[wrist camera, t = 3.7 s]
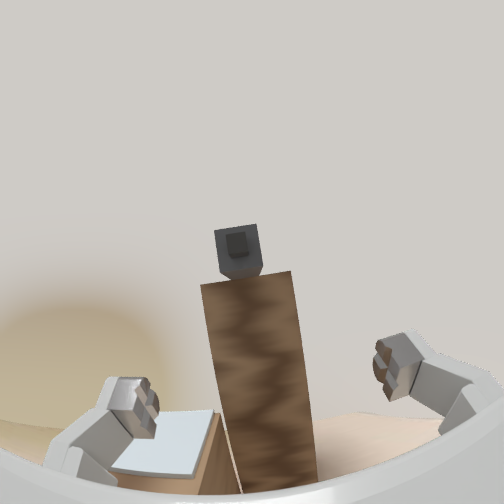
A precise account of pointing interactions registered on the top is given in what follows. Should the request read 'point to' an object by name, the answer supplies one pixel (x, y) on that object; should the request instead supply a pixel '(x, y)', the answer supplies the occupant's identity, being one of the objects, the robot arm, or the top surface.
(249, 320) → the walnut stand
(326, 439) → the top surface
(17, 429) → the top surface
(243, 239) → the marker
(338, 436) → the top surface
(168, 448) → the notepad
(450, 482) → the robot arm
